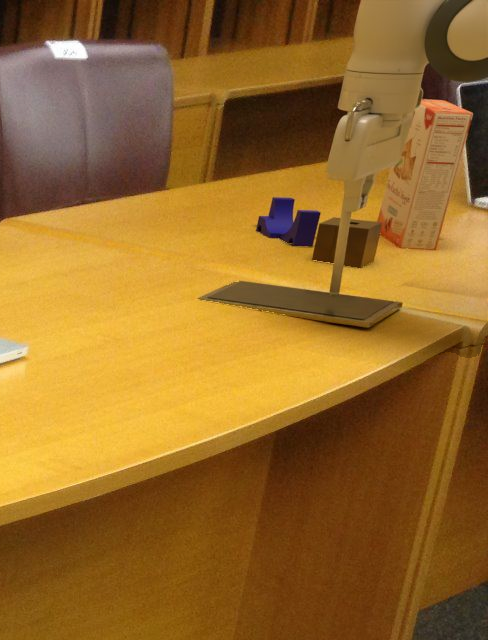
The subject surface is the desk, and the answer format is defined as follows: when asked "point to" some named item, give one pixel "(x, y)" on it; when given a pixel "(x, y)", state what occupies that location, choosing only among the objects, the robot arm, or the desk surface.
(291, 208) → the cable clip
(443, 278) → the desk surface
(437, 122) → the cracker box
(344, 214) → the stylus
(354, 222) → the pen stand
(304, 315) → the tablet
